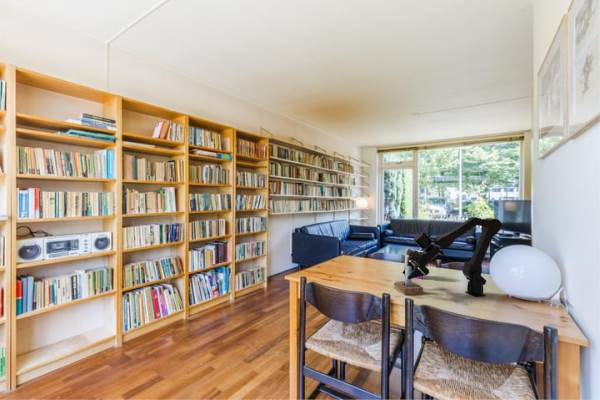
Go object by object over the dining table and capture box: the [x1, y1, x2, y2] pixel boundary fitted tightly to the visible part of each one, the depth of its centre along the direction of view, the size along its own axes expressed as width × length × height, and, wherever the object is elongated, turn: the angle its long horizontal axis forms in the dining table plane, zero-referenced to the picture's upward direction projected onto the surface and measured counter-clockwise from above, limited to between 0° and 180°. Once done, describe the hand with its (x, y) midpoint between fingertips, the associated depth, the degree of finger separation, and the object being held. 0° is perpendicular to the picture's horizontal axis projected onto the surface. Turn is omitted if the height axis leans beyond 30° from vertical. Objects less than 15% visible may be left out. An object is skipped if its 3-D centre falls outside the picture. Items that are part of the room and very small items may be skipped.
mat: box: [395, 280, 422, 287], centre depth 155 cm, size 10×10×1 cm
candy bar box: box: [403, 248, 427, 280], centre depth 168 cm, size 11×5×16 cm, turn 47°
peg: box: [404, 265, 412, 287], centre depth 143 cm, size 3×3×13 cm
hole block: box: [393, 281, 424, 296], centre depth 143 cm, size 10×10×4 cm
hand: (405, 276), depth 143 cm, fingers open, 9 cm apart
